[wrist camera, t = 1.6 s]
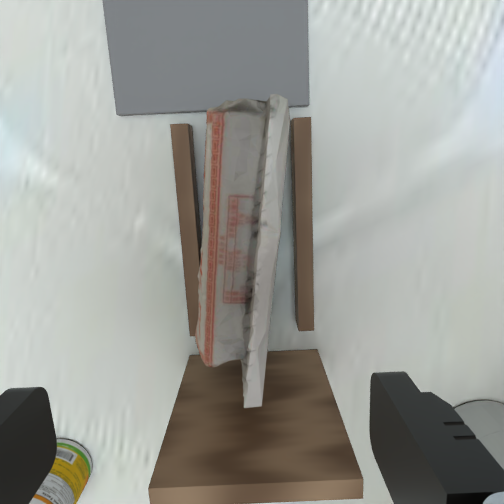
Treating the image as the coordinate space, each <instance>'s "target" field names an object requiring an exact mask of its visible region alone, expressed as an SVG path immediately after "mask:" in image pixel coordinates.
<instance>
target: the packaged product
mask: <svg viewBox="0 0 504 504" xmlns="http://www.w3.org/2000/svg"><path fill="white" fill-rule="evenodd" d="M206 123H207V129H206V145H205V165H204V186H203V188H204V191H203V236H202V247H201V263H200V268H199V273H198V278H199V279H198V280H199V289H198V294H199V300H198V302H199V313H198V322H197V326H196V333H195V338H196V341H195V342H196V344H197V347H198V349H199V353H200V355H201V359H202V360H203V362H204V364H205V365H206V366H208V367H213V368H215V367H217V366H219V365H221V364H223V363H225V362H228V361H231V360H239V359H240V360H241V363H242V381H243V397H244V408H250V407H259V406H262V399H263V389H264V379H265V368H266V358H267V348H268V338H269V329H270V320H271V310H272V301H273V292H274V283H275V274H276V265H277V255H278V246H279V240H280V234H281V232H280V225H281V214H282V203H283V192H284V181H285V170H286V159H287V149H288V138H289V127H290V117H289V108H288V99H286V98H284V97H282V96H280V95H278V94H270V97H269V99H268V100H267V101H260V100H253V99H245V98H244V99H237V100H235V101H228V100H226V101H225V102H224V103H223V104H221V105H220V106H218V107H213V108H209V109H208V110H207V122H206Z"/></svg>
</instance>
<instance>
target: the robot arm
mask: <svg viewBox="0 0 504 504" xmlns="http://www.w3.org/2000/svg"><path fill="white" fill-rule="evenodd" d="M370 440H371V446H372V450H373V454H374V457H375V459H376V462H377V464H378V466H379V469H380V471H381V474H382V476H383V478H384V481H385V483H386V486H387V488H388V490H389V493H390V495H391V498H392V500H393V502H394V504H504V404H502V403H500V402H495V401H489V400H486V401H474V402H470V403H466V404H463V405H461V406H458V407H456V408H453V407H452V406H451V405H450V404H448V403H447V402H445V401H444V400H442V399H441V398H439V397H438V396H436V395H435V394H433V393H432V392H420V391H419V389H418V388H417V387H416V385H415V384H414V383H413V381H412V380H411V378H410V377H409V376H408V374H407V373H406V372H382V373H373V374H372V376H371V386H370ZM56 452H57V440H56V434H55V429H54V424H53V418H52V413H51V408H50V402H49V397H48V394H47V391H46V390H45V389H44V388H43V387H29V388H11V389H8V390H6V391H5V392H4V393H3V394H1V395H0V504H29V503H30V501H31V500H32V498H33V497H34V495H35V494H36V492H37V491H38V489H39V488H40V486H41V484H42V483H43V481H44V480H45V478H46V477H47V475H48V474H49V472H50V470H51V469H52V466H53V464H54V461H55V458H56Z"/></svg>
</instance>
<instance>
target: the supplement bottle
mask: <svg viewBox="0 0 504 504" xmlns="http://www.w3.org/2000/svg"><path fill="white" fill-rule="evenodd" d="M56 440H57V452H56V458H55V461H54V464H53V466H52V469H51V470H50V472H49V474H48V475H47V477H46V478H45V480H44V481H43V483H42V484H41V486H40V488H39V489H38V491H37V492H36V494H35V495H34V497H33V498H32V500H31V501H30V503H29V504H76V503H77V501H78V499H79V497H80V495H81V493H82V491H83V489H84V487H85V485H86V483H87V481H88V479H89V477H90V475H91V471H92V462H91V458H90V456H89V454H88V453H87V451H86V450H85V449H84V448H83V447H82V446H80V445H79V444H77V443H75V442H73V441H70V440H65V439H56Z"/></svg>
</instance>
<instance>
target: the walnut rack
mask: <svg viewBox="0 0 504 504" xmlns="http://www.w3.org/2000/svg"><path fill="white" fill-rule="evenodd" d="M170 126H171V137H172V148H173V159H174V169H175V180H176V191H177V202H178V212H179V223H180V234H181V245H182V255H183V266H184V277H185V288H186V298H187V309H188V320H189V331H190V336H195V333H196V326H197V322H198V313H199V302H198V300H199V294H198V289H199V280H198V279H199V278H198V273H199V268H200V263H201V247H202V242H201V230H200V218H199V205H198V193H197V181H196V168H195V156H194V144H193V131H192V126H191V125H189V124H170ZM291 160H292V199H293V237H294V276H295V315H296V323H297V327H298V330H299V331H313V330H314V296H313V226H312V156H311V117H304V118H293V119H292V120H291ZM148 491H149V498H150V504H250V503H272V502H295V501H317V500H340V499H362V498H363V477H362V474H361V471H360V468H359V465H358V463H357V460H356V457H355V454H354V451H353V448H352V446H351V443H350V440H349V437H348V434H347V432H346V429H345V426H344V423H343V420H342V417H341V415H340V412H339V409H338V406H337V403H336V401H335V398H334V395H333V392H332V389H331V387H330V384H329V381H328V378H327V375H326V372H325V370H324V367H323V364H322V361H321V358H320V356H319V353H318V350H317V349H316V350H294V351H273V352H267V358H266V368H265V379H264V389H263V399H262V406H259V407H250V408H244V397H243V381H242V363H241V360H240V359H239V360H231V361H228V362H225V363H223V364H221V365H219V366H217V367H215V368H213V367H208V366H206V365H205V364H204V362H203V360H202V359H201V355H190V356H189V359H188V363H187V366H186V369H185V372H184V375H183V379H182V382H181V385H180V388H179V391H178V395H177V398H176V401H175V404H174V408H173V411H172V414H171V417H170V420H169V424H168V427H167V430H166V433H165V436H164V440H163V443H162V446H161V449H160V452H159V456H158V459H157V462H156V465H155V468H154V472H153V475H152V478H151V481H150V484H149V488H148Z"/></svg>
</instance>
